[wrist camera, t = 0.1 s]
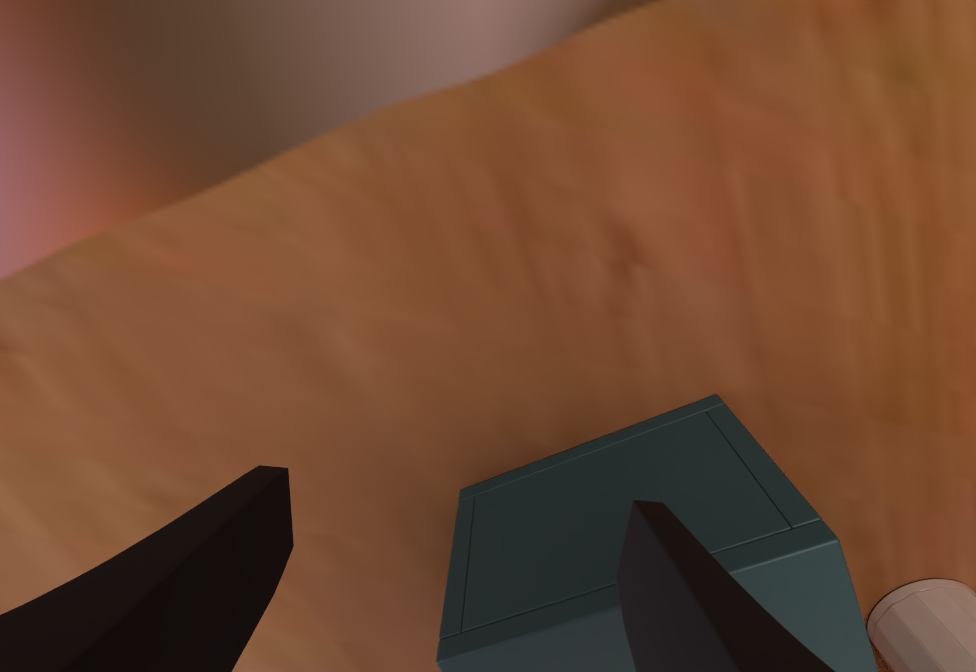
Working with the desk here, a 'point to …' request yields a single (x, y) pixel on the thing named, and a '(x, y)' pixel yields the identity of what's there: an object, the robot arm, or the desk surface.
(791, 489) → the cabinet
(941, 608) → the cup
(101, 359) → the desk surface
